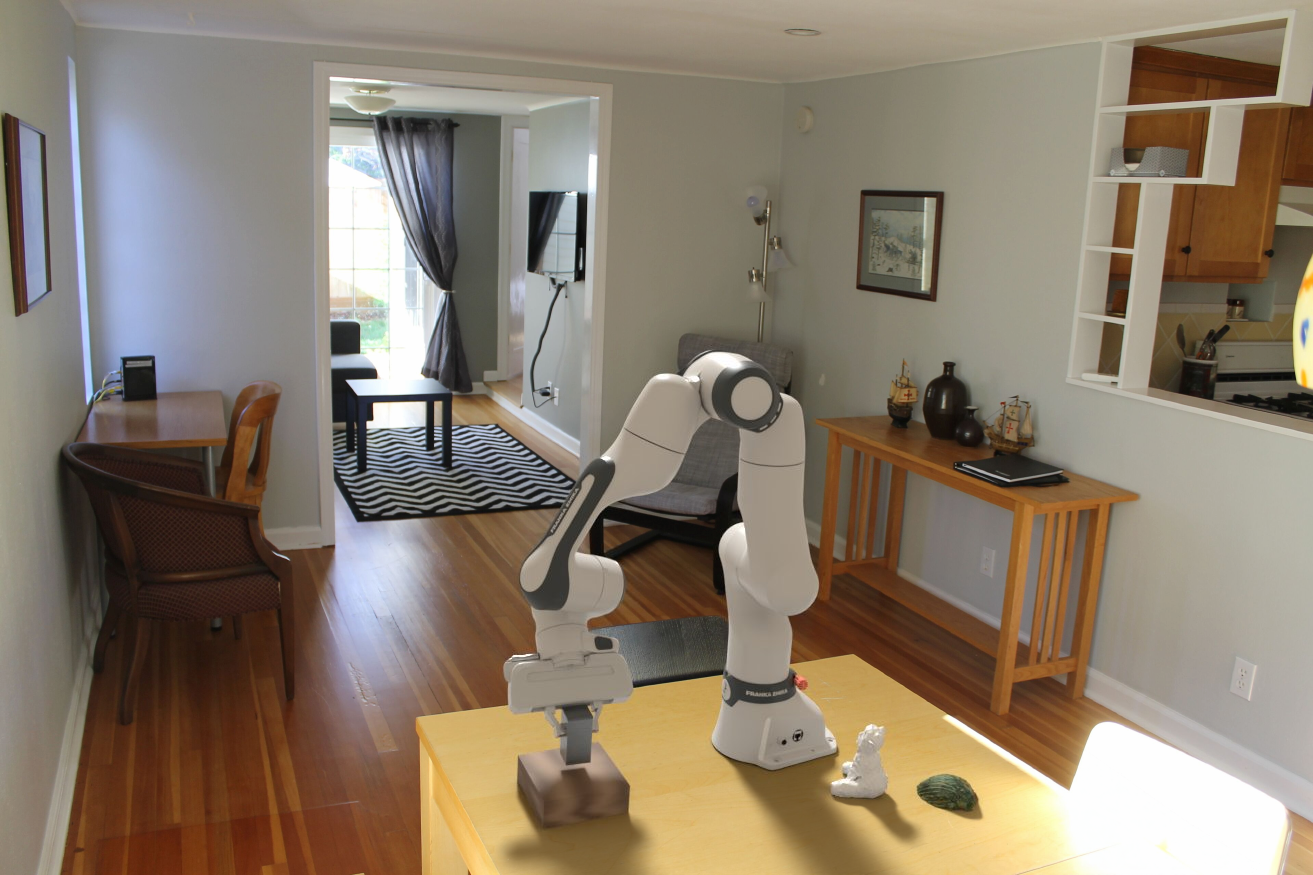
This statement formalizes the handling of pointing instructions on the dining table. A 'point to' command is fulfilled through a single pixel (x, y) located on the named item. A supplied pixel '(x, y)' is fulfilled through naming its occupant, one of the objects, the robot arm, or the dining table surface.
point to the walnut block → (572, 787)
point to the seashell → (947, 792)
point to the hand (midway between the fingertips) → (577, 734)
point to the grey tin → (576, 734)
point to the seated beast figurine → (864, 768)
